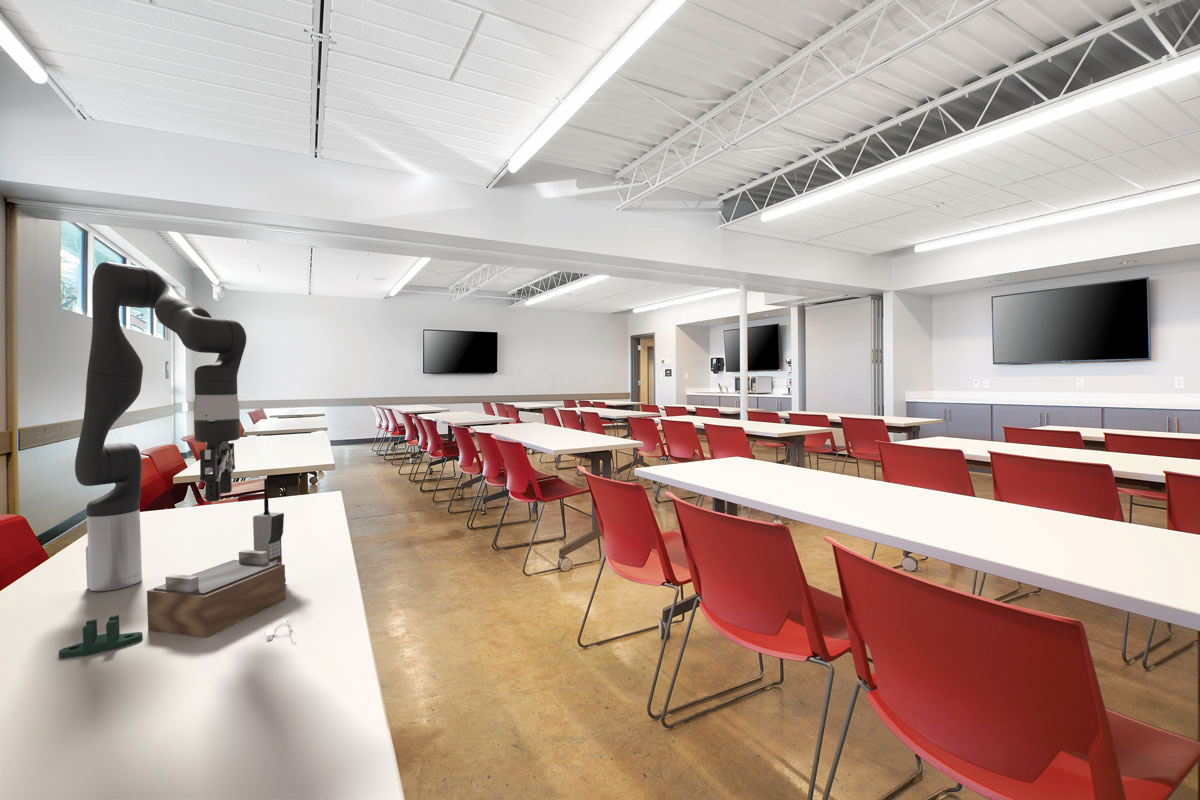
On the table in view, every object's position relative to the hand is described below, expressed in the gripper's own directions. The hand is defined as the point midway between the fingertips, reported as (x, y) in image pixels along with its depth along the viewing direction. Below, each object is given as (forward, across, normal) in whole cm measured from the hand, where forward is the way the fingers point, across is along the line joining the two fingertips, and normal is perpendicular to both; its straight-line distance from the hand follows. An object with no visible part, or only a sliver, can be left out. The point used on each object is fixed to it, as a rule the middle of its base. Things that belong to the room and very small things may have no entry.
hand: (219, 496), depth 108 cm
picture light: (+24, +15, +13) cm, 32 cm away
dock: (+24, 0, 0) cm, 24 cm away
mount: (+24, +9, -16) cm, 30 cm away
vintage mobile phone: (+24, -14, +6) cm, 28 cm away
